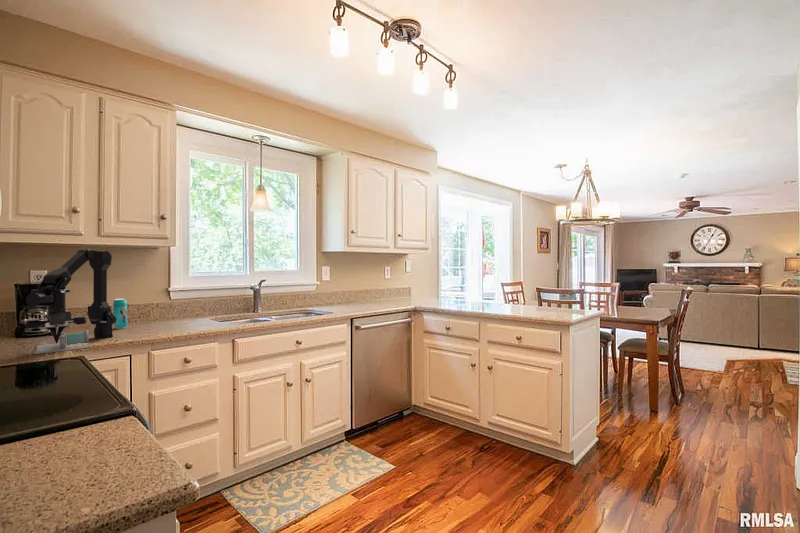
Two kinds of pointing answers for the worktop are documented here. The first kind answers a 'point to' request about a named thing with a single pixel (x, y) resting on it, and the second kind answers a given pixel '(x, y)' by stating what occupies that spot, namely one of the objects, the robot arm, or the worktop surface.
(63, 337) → the fence gate
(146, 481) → the worktop surface
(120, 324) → the beverage can
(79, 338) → the fence fixed
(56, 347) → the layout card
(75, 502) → the worktop surface
